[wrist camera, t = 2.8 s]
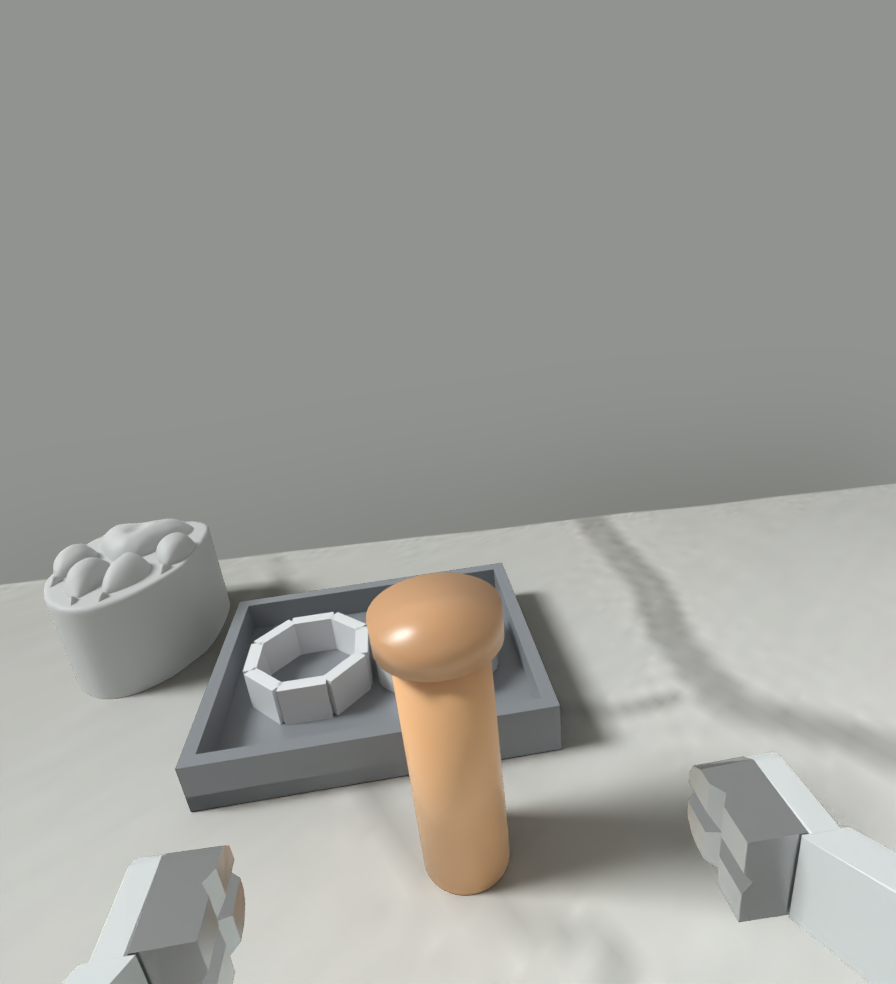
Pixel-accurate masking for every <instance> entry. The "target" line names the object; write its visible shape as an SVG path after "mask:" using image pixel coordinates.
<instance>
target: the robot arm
mask: <svg viewBox="0 0 896 984" xmlns="http://www.w3.org/2000/svg"><path fill="white" fill-rule="evenodd" d="M689 783H690V785H691V787H692V788H693V790H694V792H695V793H694V794H693V795H692V796H691V797H690V799H689V800H688V813H687V816H688V820H689V825H690V829H691V833H692V836H693V838H694V841H695V843H696V846H697V847H698V849H699V851H700V853H701V855H702V857H703V859H704V860H706V861H707V862H709V863H710V864H712V865H713V866H715V867H716V868H718V879H717V884H718V886H719V888H720V890H721V891H722V893H723V895H724V897H725V899H726V900H727V902H728V904H729V906H730V908H731V909H732V911H733V913H734V915H735V917H736V918H737V920H738V922H744V921H751V920H757V919H764V918H770V917H777V916H783V915H789V918H790V919H791V920H792V921H794V922H795V923H796V924H797V925H798V926H800V927H801V928H802V929H803V930H805V931H806V932H807V933H808V934H809V935H811V936H812V937H813V938H814V939H816V940H817V941H818V942H819V943H820V944H822V945H823V946H824V947H825V948H827V949H828V950H829V951H830V952H832V953H833V954H834V955H835V956H836V957H838V958H839V959H840V960H841V961H843V962H844V963H845V964H846V965H847V966H849V967H850V968H851V969H852V970H854V971H855V972H856V973H857V974H858V975H860V976H861V977H862V978H863V979H865V980H866V981H867V982H868V983H869V984H896V852H894V851H892V850H890V849H889V848H887V847H885V846H883V845H881V844H879V843H878V842H876V841H874V840H872V839H870V838H869V837H867V836H865V835H863V834H861V833H859V832H858V831H856V830H854V829H852V828H850V827H846V828H840V826H839V825H838V824H837V823H836V822H835V820H834V819H833V818H832V817H831V816H830V814H829V813H828V812H827V811H826V809H825V808H824V807H823V806H822V805H821V803H820V802H819V801H818V800H817V799H816V797H815V796H814V795H813V794H812V793H811V791H810V790H809V789H808V788H807V787H806V785H805V784H804V783H803V782H802V781H801V779H800V778H799V777H798V776H797V775H796V773H795V772H794V771H793V770H792V769H791V767H790V766H789V765H788V764H787V763H786V761H785V760H784V759H783V758H782V757H781V755H779V754H777V753H776V752H769V753H763V754H758V755H752V756H747V757H738V758H732V759H727V760H721V761H716V762H711V763H705V764H700V765H694V766H692V768H691V770H690V774H689ZM233 863H234V857H233V854H232V852H231V849H230V846H217V847H210V848H203V849H196V850H189V851H182V852H175V853H167V854H163V855H156V856H149V857H143V858H136V859H135V860H134V861H133V862H132V864H131V865H130V866H129V867H128V869H127V871H126V873H125V876H124V878H123V881H122V883H121V885H120V888H119V890H118V893H117V895H116V898H115V900H114V903H113V905H112V907H111V910H110V912H109V915H108V917H107V920H106V922H105V925H104V927H103V930H102V932H101V934H100V937H99V939H98V942H97V944H96V947H95V949H94V952H93V954H92V956H91V959H90V961H89V963H84V964H79V965H78V966H77V967H76V968H75V969H74V971H73V972H72V973H71V974H70V975H69V976H68V977H67V978H66V979H65V980H64V981H63V982H62V983H61V984H233V980H234V975H235V970H234V967H233V964H232V961H231V958H230V955H231V954H232V953H233V952H234V950H235V949H236V948H237V946H238V945H239V944H240V942H241V939H242V933H243V928H244V919H245V897H244V889H243V885H242V882H241V879H240V877H238V876H236V875H235V874H233V873H232V868H233Z"/></svg>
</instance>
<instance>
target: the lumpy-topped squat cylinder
mask: <svg viewBox="0 0 896 984" xmlns="http://www.w3.org/2000/svg"><path fill="white" fill-rule="evenodd" d="M53 571H54V573H53V574H52V575H51V576H50V577H49V579H48V580H47V581H46V583H45V587H44V600H45V604H46V607H47V609H48V612H49V614H50V617H51V619H52V621H53V624H54V626H55V629H56V631H57V634H58V636H59V638H60V641H61V643H62V646H63V648H64V650H65V653H66V655H67V658H68V660H69V662H70V665H71V667H72V670H73V672H74V674H75V677H76V679H77V682H78V684H79V686H80V688H81V689H82V690H83V691H84V692H85V693H87V694H89V695H90V696H93V697H95V698H99V699H117V698H122V697H127V696H130V695H134V694H136V693H139V692H142V691H144V690H146V689H149V688H151V687H153V686H155V685H157V684H159V683H161V682H163V681H165V680H167V679H169V678H171V677H172V676H174V675H175V674H177V673H178V672H180V671H181V670H183V669H184V668H185V667H187V666H188V665H190V664H191V663H192V662H194V661H195V660H196V659H197V658H199V657H200V656H201V655H202V654H204V653H205V652H206V651H207V650H208V649H209V648H210V647H211V646H212V644H213V643H214V641H215V640H216V638H217V636H218V635H219V633H220V631H221V629H222V627H223V625H224V623H225V621H226V618H227V615H228V612H229V609H230V601H229V597H228V594H227V590H226V587H225V583H224V580H223V576H222V572H221V569H220V565H219V562H218V559H217V555H216V552H215V548H214V545H213V541H212V538H211V534H210V530H209V528H208V527H207V526H206V525H205V524H203V523H200V522H183V521H180V520H177V519H163V520H157V521H150V522H146V523H131V524H121V525H118V526H115V527H113V528H112V529H110V531H108V532H107V533H106V534H105V535H104V536H102V537H100V538H98V539H96V540H94V541H92V542H90V543H88V544H87V545H84V544H74V545H71V546H69V547H67V548H65V549H64V550H63V551H61V552H60V553H59V554H58V556H57V557H56V559H55V561H54V565H53Z"/></svg>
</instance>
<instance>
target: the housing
mask: <svg viewBox="0 0 896 984" xmlns="http://www.w3.org/2000/svg"><path fill="white" fill-rule="evenodd" d="M436 573H460V574H466V575H471V576H474V577H477V578H480V579H482V580H484V581H486V582H488V583H489V584H491V585H492V586H493V587H494V588H495V589H496V590H497V591H498V593H499V595H500V597H501V601H502V611H503V623H504V642H503V645H502V647H501V649H500V651H499V652H498V654H497V655H496V656H495V657H494V658H493V659H492V660H491V661H492V671H493V681H494V692H495V702H496V712H497V723H498V733H499V743H500V754H501V759H506V758H511V757H517V756H523V755H529V754H535V753H541V752H547V751H553V750H559V749H562V738H561V717H560V704H559V702H558V700H557V697H556V695H555V692H554V690H553V687H552V685H551V682H550V680H549V677H548V675H547V672H546V670H545V668H544V665H543V663H542V660H541V658H540V655H539V653H538V650H537V648H536V645H535V643H534V640H533V638H532V636H531V633H530V631H529V628H528V626H527V623H526V621H525V618H524V616H523V613H522V611H521V608H520V606H519V604H518V601H517V599H516V596H515V594H514V591H513V589H512V586H511V584H510V581H509V579H508V577H507V574H506V572H505V569H504V567H503V564H502V563H497V564H490V565H483V566H477V567H470V568H463V569H456V570H450V571H443V572H436ZM430 574H432V573H430ZM423 575H425V574H423ZM416 576H420V575H416ZM416 576H409V577H403V578H396V579H389V580H383V581H376V582H369V583H363V584H356V585H349V586H342V587H336V588H329V589H322V590H316V591H309V592H302V593H295V594H289V595H282V596H275V597H269V598H262V599H255V600H248V601H242V602H239V605H238V607H237V610H236V613H235V615H234V618H233V620H232V623H231V626H230V628H229V631H228V633H227V636H226V639H225V641H224V644H223V646H222V649H221V651H220V654H219V657H218V659H217V662H216V664H215V667H214V670H213V672H212V675H211V677H210V680H209V683H208V685H207V688H206V690H205V693H204V696H203V698H202V701H201V703H200V706H199V709H198V711H197V714H196V716H195V719H194V722H193V724H192V727H191V729H190V732H189V734H188V737H187V740H186V742H185V745H184V747H183V750H182V753H181V755H180V758H179V760H178V763H177V766H176V768H175V770H176V773H177V776H178V778H179V781H180V784H181V786H182V789H183V792H184V795H185V797H186V800H187V803H188V806H189V808H190V811H191V812H193V811H199V810H205V809H211V808H217V807H222V806H228V805H234V804H240V803H246V802H252V801H258V800H264V799H270V798H276V797H281V796H287V795H293V794H299V793H305V792H311V791H317V790H323V789H329V788H335V787H340V786H346V785H352V784H358V783H364V782H370V781H376V780H382V779H388V778H393V777H399V776H405V775H409V771H408V765H407V759H406V754H405V748H404V742H403V736H402V731H401V725H400V719H399V713H398V708H397V702H396V696H395V690H394V685H393V679H392V675H391V674H389V673H387V672H386V671H384V670H383V669H382V668H381V667H380V666H379V665H378V664H377V663H376V661H375V660H374V658H373V655H372V650H371V645H370V640H369V634H368V629H367V624H366V613H367V610H368V607H369V606H370V604H371V602H372V601H373V600H374V599H375V598H376V597H377V596H378V595H379V594H380V593H381V592H383V591H384V590H385V589H387V588H389V587H390V586H392V585H394V584H396V583H398V582H401V581H403V580H406V579H409V578H412V577H416Z"/></svg>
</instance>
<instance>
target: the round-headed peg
mask: <svg viewBox="0 0 896 984" xmlns="http://www.w3.org/2000/svg"><path fill="white" fill-rule="evenodd" d="M366 624H367V629H368V634H369V640H370V645H371V650H372V655H373V658H374V660H375V661H376V663H377V664H378V665H379V666H380V667H381V668H382V669H383V670H384V671H386V672H387V673H389V674H391V675H392V679H393V685H394V690H395V696H396V702H397V708H398V713H399V719H400V725H401V731H402V736H403V742H404V748H405V754H406V759H407V765H408V771H409V777H410V783H411V788H412V794H413V800H414V806H415V811H416V817H417V823H418V829H419V834H420V840H421V846H422V852H423V857H424V863H425V867H426V871H427V873H428V875H429V876H430V878H431V879H432V881H433V882H434V883H435V884H436V885H437V886H439V887H440V888H442V889H443V890H445V891H447V892H449V893H453V894H457V895H473V894H477V893H480V892H483V891H485V890H487V889H489V888H490V887H492V886H493V885H495V884H496V883H497V882H498V881H499V880H500V878H501V877H502V876H503V874H504V873H505V871H506V869H507V866H508V863H509V858H510V847H509V836H508V826H507V816H506V805H505V795H504V785H503V774H502V764H501V754H500V743H499V733H498V723H497V712H496V702H495V692H494V681H493V671H492V661H491V660H492V659H493V658H494V657H495V656H496V655H497V654H498V652H499V651H500V649H501V647H502V645H503V642H504V623H503V611H502V601H501V597H500V595H499V593H498V591H497V590H496V589H495V588H494V587H493V586H492V585H491V584H489V583H488V582H486V581H484V580H482V579H480V578H477V577H474V576H471V575H466V574H460V573H432V574H425V575H420V576H416V577H412V578H409V579H406V580H403V581H401V582H398V583H396V584H394V585H392V586H390V587H389V588H387V589H385V590H384V591H383V592H381V593H380V594H379V595H378V596H377V597H376V598H375V599H374V600H373V601H372V602H371V604H370V606H369V607H368V610H367V613H366Z"/></svg>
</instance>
